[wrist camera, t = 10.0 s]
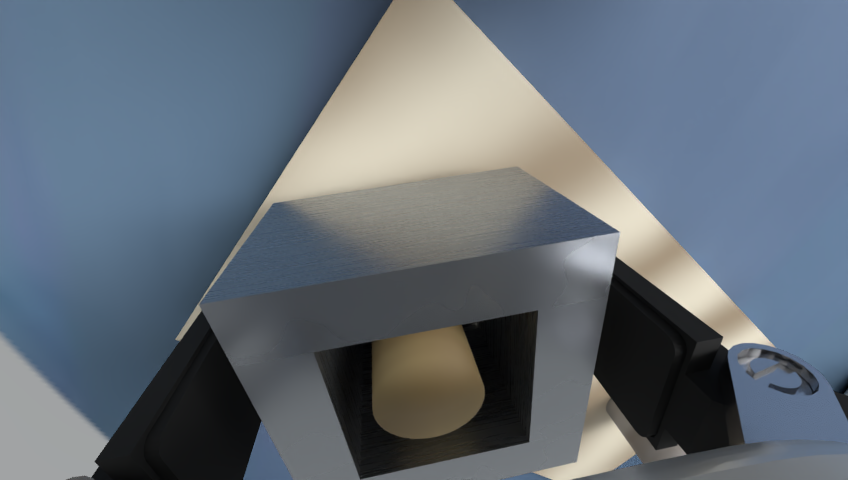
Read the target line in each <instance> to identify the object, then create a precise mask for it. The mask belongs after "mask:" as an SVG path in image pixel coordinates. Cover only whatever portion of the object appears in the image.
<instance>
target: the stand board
mask: <svg viewBox="0 0 848 480" xmlns="http://www.w3.org/2000/svg"><path fill="white" fill-rule="evenodd" d="M516 166H518V167H519V168H521V169H522V170H524V171H526V172H527V173H529V174H530V175H532V176H533V177H535V178H536V179H538V180H540V181H541V182H543V183H544V184H546V185H547V186H549V187H551V188H552V189H554V190H555V191H557V192H558V193H560V194H562V195H563V196H565V197H566V198H568V199H569V200H571V201H572V202H574V203H576V204H577V205H579V206H580V207H582V208H583V209H585V210H587V211H588V212H590V213H591V214H593V215H594V216H596V217H597V218H599V219H601V220H602V221H604V222H605V223H607V224H608V225H610V226H612V227H613V228H615V229H616V230H618V231H619V232H620V237H619V242H618V247H617V253H616V257H617V258H619V259H620V260H621V261H623V262H624V263H625V264H627V265H628V266H629V267H631V268H632V269H633V270H635V271H636V272H637V273H639V274H640V275H641V276H643V277H644V278H645V279H647V280H648V281H649V282H651V283H652V284H653V285H655V286H656V287H657V288H659V289H660V290H661V291H663V292H664V293H665V294H667V295H668V296H669V297H671V298H672V299H673V300H675V301H676V302H677V303H679V304H680V305H681V306H683V307H684V308H685V309H687V310H688V311H689V312H691V313H692V314H693V315H695V316H696V317H697V318H699V319H700V320H701V321H703V322H704V323H705V324H707V325H708V326H709V327H711V328H712V329H713V330H715V331H716V332H717V333H719V334H720V335H721V336H723V340H722V342H721V345H723V346H724V347H725V348H727V349H728V350H729V349H730V348H731V347H732V346H734V345H737V344H741V343H757V344H763V345H768V346H771V347H775V346H774V345H773V344H772V343H771V342H770V341H769V340H768V339H767V338H766V337H765V336H764V335H763V334H762V332H761V331H760V330H759V329H758V328H757V327H756V326H755V325H754V324H753V323H752V322H751V321H750V320H749V318H748V317H747V316H746V315H745V314H744V313H743V312H742V311H741V310H740V309H739V308H738V307H737V306H736V304H735V303H734V302H733V301H732V300H731V299H730V298H729V297H728V296H727V295H726V294H725V293H724V292H723V290H722V289H721V288H720V287H719V286H718V285H717V284H716V283H715V282H714V281H713V280H712V279H711V278H710V276H709V275H708V274H707V273H706V272H705V271H704V270H703V269H702V268H701V267H700V266H699V265H698V264H697V263H696V261H695V260H694V259H693V258H692V257H691V256H690V255H689V254H688V253H687V252H686V251H685V250H684V249H683V247H682V246H681V245H680V244H679V243H678V242H677V241H676V240H675V239H674V238H673V237H672V236H671V235H670V233H669V232H668V231H667V230H666V229H665V228H664V227H663V226H662V225H661V224H660V223H659V222H658V221H657V219H656V218H655V217H654V216H653V215H652V214H651V213H650V212H649V211H648V210H647V209H646V208H645V207H644V205H643V204H642V203H641V202H640V201H639V200H638V199H637V198H636V197H635V196H634V195H633V194H632V193H631V191H630V190H629V189H628V188H627V187H626V186H625V185H624V184H623V183H622V182H621V181H620V180H619V179H618V178H617V176H616V175H615V174H614V173H613V172H612V171H611V170H610V169H609V168H608V167H607V166H606V165H605V164H604V162H603V161H602V160H601V159H600V158H599V157H598V156H597V155H596V154H595V153H594V152H593V151H592V150H591V148H590V147H589V146H588V145H587V144H586V143H585V142H584V141H583V140H582V139H581V138H580V137H579V136H578V134H577V133H576V132H575V131H574V130H573V129H572V128H571V127H570V126H569V125H568V124H567V123H566V122H565V120H564V119H563V118H562V117H561V116H560V115H559V114H558V113H557V112H556V111H555V110H554V109H553V108H552V107H551V105H550V104H549V103H548V102H547V101H546V100H545V99H544V98H543V97H542V96H541V95H540V94H539V93H538V91H537V90H536V89H535V88H534V87H533V86H532V85H531V84H530V83H529V82H528V81H527V80H526V79H525V77H524V76H523V75H522V74H521V73H520V72H519V71H518V70H517V69H516V68H515V67H514V66H513V65H512V63H511V62H510V61H509V60H508V59H507V58H506V57H505V56H504V55H503V54H502V53H501V52H500V51H499V49H498V48H497V47H496V46H495V45H494V44H493V43H492V42H491V41H490V40H489V39H488V38H487V37H486V35H485V34H484V33H483V32H482V31H481V30H480V29H479V28H478V27H477V26H476V25H475V24H474V23H473V22H472V20H471V19H470V18H469V17H468V16H467V15H466V14H465V13H464V12H463V11H462V10H461V9H460V8H459V6H458V5H457V4H456V3H455V2H454V1H453V0H393V2H392V3H391V5H390V6H389V8H388V9H387V11H386V12H385V14H384V16H383V17H382V19H381V20H380V22H379V23H378V25H377V26H376V28H375V30H374V31H373V33H372V34H371V36H370V37H369V39H368V40H367V42H366V44H365V45H364V47H363V48H362V50H361V51H360V53H359V54H358V56H357V58H356V59H355V61H354V62H353V64H352V65H351V67H350V68H349V70H348V72H347V73H346V75H345V76H344V78H343V79H342V81H341V82H340V84H339V86H338V87H337V89H336V90H335V92H334V93H333V95H332V96H331V98H330V100H329V101H328V103H327V104H326V106H325V107H324V109H323V110H322V112H321V114H320V115H319V117H318V118H317V120H316V121H315V123H314V124H313V126H312V128H311V129H310V131H309V132H308V134H307V135H306V137H305V138H304V140H303V142H302V143H301V145H300V146H299V148H298V149H297V151H296V152H295V154H294V156H293V157H292V159H291V160H290V162H289V163H288V165H287V166H286V168H285V170H284V171H283V173H282V174H281V176H280V177H279V179H278V180H277V182H276V184H275V185H274V187H273V188H272V190H271V191H270V193H269V194H268V196H267V198H266V199H265V201H264V202H263V204H262V205H261V207H260V208H259V210H258V212H257V213H256V215H255V216H254V218H253V219H252V221H251V222H250V224H249V226H248V227H247V229H246V230H245V232H244V233H243V235H242V236H241V238H240V240H239V241H238V243H237V244H236V246H235V247H234V249H233V250H232V252H231V254H230V255H229V257H228V258H227V260H226V261H225V263H224V264H223V266H222V268H221V269H220V271H219V272H218V274H217V275H216V277H215V279H214V280H213V282H212V283H211V285H210V286H209V288H208V289H207V291H206V293H205V294H204V296H203V297H202V299H201V300H200V302H201V301H202V300H203V298H204V297H205V295H206V294H207V293H208V291H209V290H210V289H211V287H212V286H213V285H214V283H215V282H216V280H217V279H218V278H219V276H220V275H221V274H222V272H223V271H224V270H225V268H226V267H227V265H228V264H229V263H230V261H231V260H232V259H233V257H234V256H235V255H236V253H237V252H238V251H239V249H240V248H241V246H242V245H243V244H244V242H245V241H246V240H247V238H248V237H249V236H250V234H251V233H252V231H253V230H254V229H255V227H256V226H257V225H258V223H259V222H260V221H261V219H262V218H263V217H264V215H265V214H266V212H267V211H268V210H269V208H270V207H271V206H272V204H273V203H278V202H284V201H291V200H298V199H304V198H311V197H317V196H324V195H331V194H337V193H344V192H350V191H357V190H364V189H370V188H377V187H384V186H390V185H397V184H403V183H410V182H417V181H423V180H430V179H436V178H443V177H450V176H456V175H463V174H470V173H476V172H483V171H489V170H496V169H503V168H509V167H516ZM200 302H199V303H198V305H197V307H196V308H195V310H194V311H193V313H192V314H191V316H190V317H189V319H188V321H187V322H186V324H185V325H184V327H183V328H182V330H181V331H180V333H179V335H178V336H177V338H176V339H175V340H178V341H180V340H181V339H182V338H183V336H184V335H185V333H186V332H187V331H188V329H189V328H190V326H191V325H192V323H193V322H194V321H195V319H196V318H197V316H198V315H199V314H200V312H201V311H202V310H201V308H200V306H199V304H200ZM775 348H776V347H775ZM484 397H485V389H484V385H483V382H482V379H481V376H480V373H479V371H478V368H477V365H476V362H475V360H474V357H473V354H472V351H471V349H470V346H469V343H468V340H467V338H466V335H465V332H464V329H463V327H462V325H456V326H451V327H446V328H441V329H435V330H430V331H425V332H419V333H414V334H409V335H403V336H398V337H393V338H387V339H382V340H377V341H372V410H373V415H374V418H375V420H376V421H377V423H378V424H379V425H380V426H381V427H382V428H383V429H384V430H386V431H387V432H389V433H391V434H394V435H396V436H399V437H404V438H411V439H425V438H432V437H437V436H441V435H444V434H447V433H450V432H452V431H454V430H456V429H458V428H460V427H461V426H463V425H464V424H466V423H467V422H468V421H470V420H471V419H472V418H473V417H474V416H475V415H476V413H477V412H478V411H479V409H480V408H481V406H482V403H483V401H484ZM635 454H637V456H638V457H639V459H640V460H641V462H642V463H643V464H644V463H649V462H653V461H658V460H663V459H668V458H673V457H678V456H683V455H686V453H685V452H684V451H683V450H682V448H681V447H680V446H679V445H677V446H674V447H669V448H665V449H660V450H655V449H654V447H653V446H652V445H651V443H650V442H649V441H648V439H647V438H646V437H642V436H640V435H639V434H638V433H637V432H636V431H635V430H634V429H633V427H632V426H631V424H630V423H629V422H628V420H627V419H626V418H625V416H624V415H623V414H622V412H621V411H620V410H619V408H618V407H617V405H616V404H615V403H614V401H613V400H612V399H611V397H610V396H609V395H608V393H607V392H606V391H605V389H604V388H603V387H602V385H601V384H600V382H599V381H598V380H597V378H596V377H595V376H594V374H593V379H592V385H591V390H590V395H589V400H588V406H587V411H586V416H585V422H584V427H583V432H582V437H581V443H580V448H579V453H578V458H577V462H575V463H570V464H566V465H562V466H557V467H553V468H548V469H544V470H540V471H535V472H533V473H536V474H539V475H541V476H544V477H547V478H549V479H552V480H572V479H576V478H581V477H585V476H590V475H594V474H599V473H603V472H608V471H612V470H614V469H615V468H617V467H618V466H620V465H621V464H622V463H624V462H625V461H627V460H628V459H630V458H631V457H632V456H634V455H635Z"/></svg>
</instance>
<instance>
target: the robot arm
mask: <svg viewBox="0 0 848 480" xmlns="http://www.w3.org/2000/svg"><path fill="white" fill-rule="evenodd" d="M722 340H723V336H721V335H720V334H719V333H717V332H716V331H715V330H713V329H712V328H711V327H709V326H708V325H707V324H705V323H704V322H703V321H701V320H700V319H699V318H697V317H696V316H695V315H693V314H692V313H691V312H689V311H688V310H687V309H685V308H684V307H683V306H681V305H680V304H679V303H677V302H676V301H675V300H673V299H672V298H671V297H669V296H668V295H667V294H665V293H664V292H663V291H661V290H660V289H659V288H657V287H656V286H655V285H653V284H652V283H651V282H649V281H648V280H647V279H645V278H644V277H643V276H641V275H640V274H639V273H637V272H636V271H635V270H633V269H632V268H631V267H629V266H628V265H627V264H625V263H624V262H623V261H621V260H620V259H619V258H617V257H616V258H615V263H614V268H613V274H612V279H611V284H610V290H609V295H608V300H607V305H606V311H605V316H604V321H603V327H602V332H601V337H600V342H599V348H598V353H597V358H596V363H595V369H594V376H595V377H596V378H597V380H598V381H599V382H600V384H601V385H602V387H603V388H604V389H605V391H606V392H607V393H608V395H609V396H610V397H611V399H612V400H613V401H614V403H615V404H616V405H617V407H618V408H619V410H620V411H621V412H622V414H623V415H624V416H625V418H626V419H627V420H628V422H629V423H630V424H631V426H632V427H633V429H634V430H635V431H636V432H637V433H638V434H639V435H640V436H642V437H646V438H647V439H648V441H649V442H650V443H651V445H652V446H653V447H654V449H655V450H660V449H665V448H669V447H674V446H677V445H679V446H680V447H681V448H682V450H683V451H684V452H685V453H686V455H683V456H678V457H673V458H668V459H663V460H658V461H653V462H649V463H644V464H640V465H635V466H631V467H626V468H621V469H617V470H612V471H608V472H603V473H599V474H594V475H590V476H585V477H581V478H576V479H572V480H848V389H847V390H846V392H845V393H844V394H841V393H838V392H834V391H833V389H832V387H831V385H830V384H829V382H828V381H827V379H826V378H825V377H824V375H823V374H821V373H820V372H819V371H818V370H817V369H816V368H814V367H813V366H812V365H810V364H809V363H807V362H806V361H804V360H802V359H801V358H799V357H797V356H795V355H793V354H790V353H788V352H786V351H784V350H781V349H778V348H775V347H771V346H768V345H763V344H757V343H741V344H737V345H734V346H732V347H731V348H730V349H729V350H728V349H727V348H725V347H724V346H723V345H721V342H722ZM260 423H261V419H260V417H259V415H258V413H257V411H256V410H255V408H254V406H253V404H252V402H251V400H250V398H249V397H248V395H247V393H246V391H245V389H244V387H243V385H242V384H241V382H240V380H239V378H238V376H237V374H236V373H235V371H234V369H233V367H232V365H231V363H230V361H229V360H228V358H227V356H226V354H225V352H224V350H223V349H222V347H221V345H220V343H219V341H218V339H217V337H216V336H215V334H214V332H213V330H212V328H211V326H210V324H209V323H208V321H207V319H206V317H205V315H204V313H203V312H202V311H201V312H200V314H199V315H198V316H197V318H196V319H195V321H194V322H193V323H192V325H191V326H190V328H189V329H188V331H187V332H186V333H185V335H184V336H183V338H182V339H181V340H180V342H179V343H178V345H177V346H176V347H175V349H174V350H173V352H172V353H171V355H170V356H169V357H168V359H167V360H166V362H165V363H164V364H163V366H162V367H161V369H160V370H159V371H158V373H157V374H156V376H155V377H154V379H153V380H152V381H151V383H150V384H149V386H148V387H147V388H146V390H145V391H144V393H143V394H142V395H141V397H140V398H139V400H138V401H137V403H136V404H135V405H134V407H133V408H132V410H131V411H130V412H129V414H128V415H127V417H126V418H125V419H124V421H123V422H122V424H121V425H120V427H119V428H118V429H117V431H116V432H115V434H114V435H113V436H112V438H111V439H110V441H109V442H108V443H107V445H106V446H105V448H104V449H103V451H102V452H101V453H100V455H99V456H98V458H97V459H96V460H95V462H96V464H98V466H99V467H98V469H97V470H96V472H95V473H94V475H93V476H92V477H91V478H90V477H87V476H80V477H72V478H70V479H67V480H243V477H244V474H245V471H246V468H247V465H248V461H249V458H250V455H251V452H252V449H253V446H254V442H255V439H256V436H257V433H258V430H259V426H260Z"/></svg>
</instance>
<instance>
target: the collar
mask: <svg viewBox="0 0 848 480" xmlns="http://www.w3.org/2000/svg"><path fill="white" fill-rule="evenodd" d="M619 237H620V232H619V231H618V230H616V229H615V228H613V227H612V226H610V225H608V224H607V223H605V222H604V221H602V220H601V219H599V218H597V217H596V216H594V215H593V214H591V213H590V212H588V211H587V210H585V209H583V208H582V207H580V206H579V205H577V204H576V203H574V202H572V201H571V200H569V199H568V198H566V197H565V196H563V195H562V194H560V193H558V192H557V191H555V190H554V189H552V188H551V187H549V186H547V185H546V184H544V183H543V182H541V181H540V180H538V179H536V178H535V177H533V176H532V175H530V174H529V173H527V172H526V171H524V170H522V169H521V168H519V167H518V166H516V167H509V168H503V169H496V170H489V171H483V172H476V173H470V174H463V175H456V176H450V177H443V178H436V179H430V180H423V181H417V182H410V183H403V184H397V185H390V186H384V187H377V188H370V189H364V190H357V191H350V192H344V193H337V194H331V195H324V196H317V197H311V198H304V199H298V200H291V201H284V202H278V203H273V204H272V206H271V207H270V208H269V210H268V211H267V212H266V214H265V215H264V217H263V218H262V219H261V221H260V222H259V223H258V225H257V226H256V227H255V229H254V230H253V231H252V233H251V234H250V236H249V237H248V238H247V240H246V241H245V242H244V244H243V245H242V246H241V248H240V249H239V251H238V252H237V253H236V255H235V256H234V257H233V259H232V260H231V261H230V263H229V264H228V265H227V267H226V268H225V270H224V271H223V272H222V274H221V275H220V276H219V278H218V279H217V280H216V282H215V283H214V285H213V286H212V287H211V289H210V290H209V291H208V293H207V294H206V295H205V297H204V298H203V300H202V301H201V302H200V304H199V306H200V308H201V310H202V312H203V313H204V315H205V317H206V319H207V321H208V323H209V324H210V326H211V328H212V330H213V332H214V334H215V336H216V337H217V339H218V341H219V343H220V345H221V347H222V349H223V350H224V352H225V354H226V356H227V358H228V360H229V361H230V363H231V365H232V367H233V369H234V371H235V373H236V374H237V376H238V378H239V380H240V382H241V384H242V385H243V387H244V389H245V391H246V393H247V395H248V397H249V398H250V400H251V402H252V404H253V406H254V408H255V410H256V411H257V413H258V415H259V417H260V419H261V421H262V422H263V424H264V426H265V428H266V430H267V432H268V434H269V435H270V437H271V439H272V441H273V443H274V445H275V447H276V448H277V450H278V452H279V454H280V456H281V458H282V459H283V461H284V463H285V465H286V467H287V469H288V471H289V472H290V474H291V476H292V478H293V480H500V479H505V478H509V477H513V476H518V475H522V474H527V473H531V472H535V471H540V470H544V469H548V468H553V467H557V466H562V465H566V464H570V463H575V462H577V458H578V453H579V448H580V443H581V437H582V432H583V427H584V422H585V416H586V411H587V406H588V400H589V395H590V390H591V385H592V379H593V374H594V369H595V363H596V358H597V353H598V348H599V342H600V337H601V332H602V327H603V321H604V316H605V311H606V305H607V300H608V295H609V290H610V284H611V279H612V274H613V268H614V263H615V258H616V253H617V247H618V242H619ZM456 325H462V327H463V329H464V332H465V335H466V338H467V340H468V343H469V346H470V349H471V351H472V354H473V357H474V360H475V362H476V365H477V368H478V371H479V373H480V376H481V379H482V382H483V385H484V389H485V397H484V401H483V403H482V406H481V408H480V409H479V411H478V412H477V413H476V415H475V416H474V417H473V418H472V419H471V420H470V421H468V422H467V423H466V424H464V425H463V426H461V427H460V428H458V429H456V430H454V431H452V432H450V433H447V434H444V435H441V436H437V437H432V438H425V439H411V438H404V437H399V436H396V435H394V434H391V433H389V432H387V431H386V430H384V429H383V428H382V427H381V426H380V425H379V424H378V423H377V421H376V420H375V418H374V415H373V410H372V341H377V340H382V339H387V338H393V337H398V336H403V335H409V334H414V333H419V332H425V331H430V330H435V329H441V328H446V327H451V326H456Z"/></svg>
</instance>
